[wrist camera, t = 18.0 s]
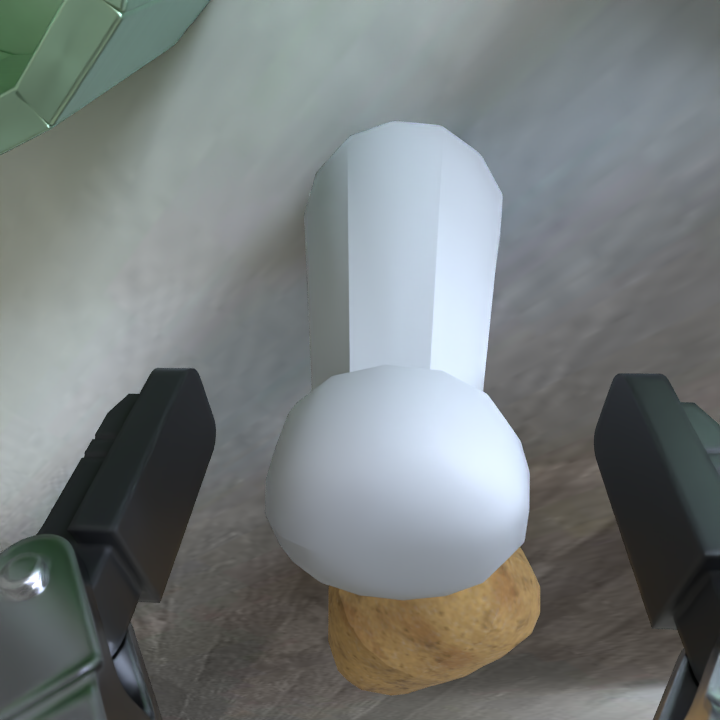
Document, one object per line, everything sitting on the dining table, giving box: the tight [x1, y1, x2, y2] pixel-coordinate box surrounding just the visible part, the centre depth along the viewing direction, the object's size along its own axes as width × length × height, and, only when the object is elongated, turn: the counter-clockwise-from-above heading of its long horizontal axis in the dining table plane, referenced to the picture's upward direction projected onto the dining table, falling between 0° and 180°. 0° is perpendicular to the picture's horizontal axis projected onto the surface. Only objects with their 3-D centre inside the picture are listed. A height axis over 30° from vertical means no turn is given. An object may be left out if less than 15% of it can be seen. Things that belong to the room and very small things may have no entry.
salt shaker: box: [265, 121, 530, 600], centre depth 13 cm, size 6×6×13 cm
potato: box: [328, 547, 540, 695], centre depth 28 cm, size 10×14×8 cm
